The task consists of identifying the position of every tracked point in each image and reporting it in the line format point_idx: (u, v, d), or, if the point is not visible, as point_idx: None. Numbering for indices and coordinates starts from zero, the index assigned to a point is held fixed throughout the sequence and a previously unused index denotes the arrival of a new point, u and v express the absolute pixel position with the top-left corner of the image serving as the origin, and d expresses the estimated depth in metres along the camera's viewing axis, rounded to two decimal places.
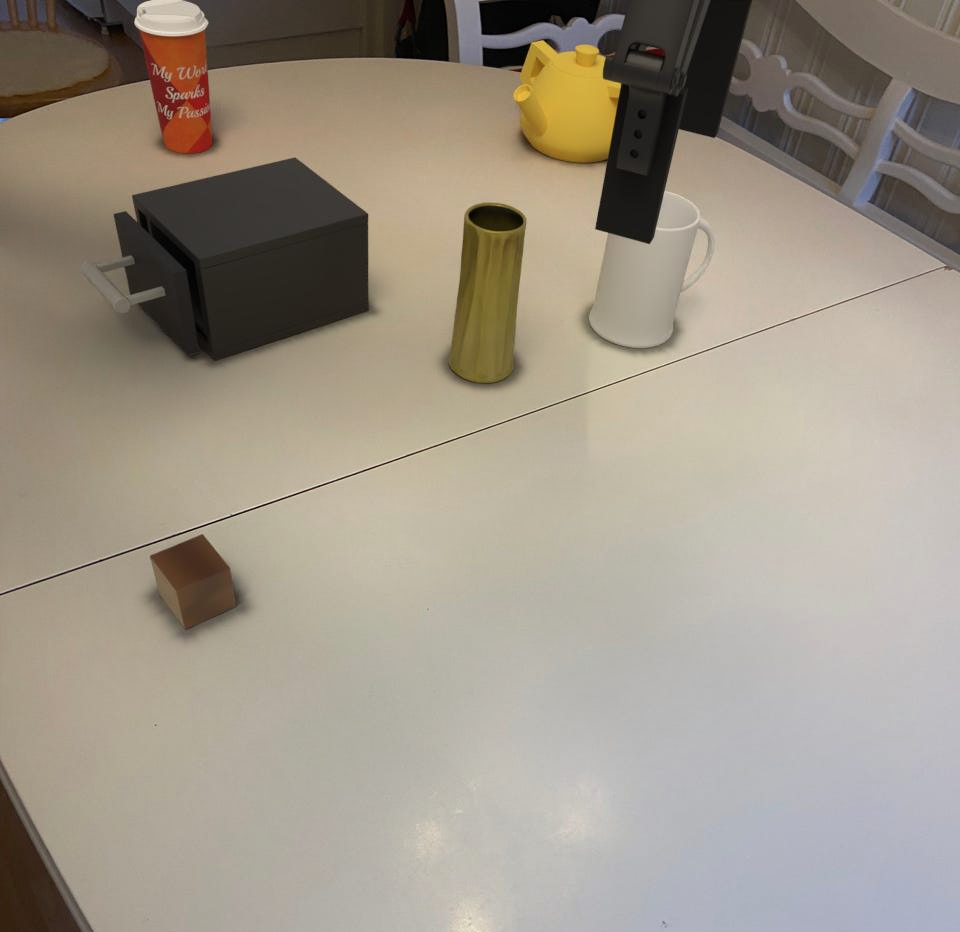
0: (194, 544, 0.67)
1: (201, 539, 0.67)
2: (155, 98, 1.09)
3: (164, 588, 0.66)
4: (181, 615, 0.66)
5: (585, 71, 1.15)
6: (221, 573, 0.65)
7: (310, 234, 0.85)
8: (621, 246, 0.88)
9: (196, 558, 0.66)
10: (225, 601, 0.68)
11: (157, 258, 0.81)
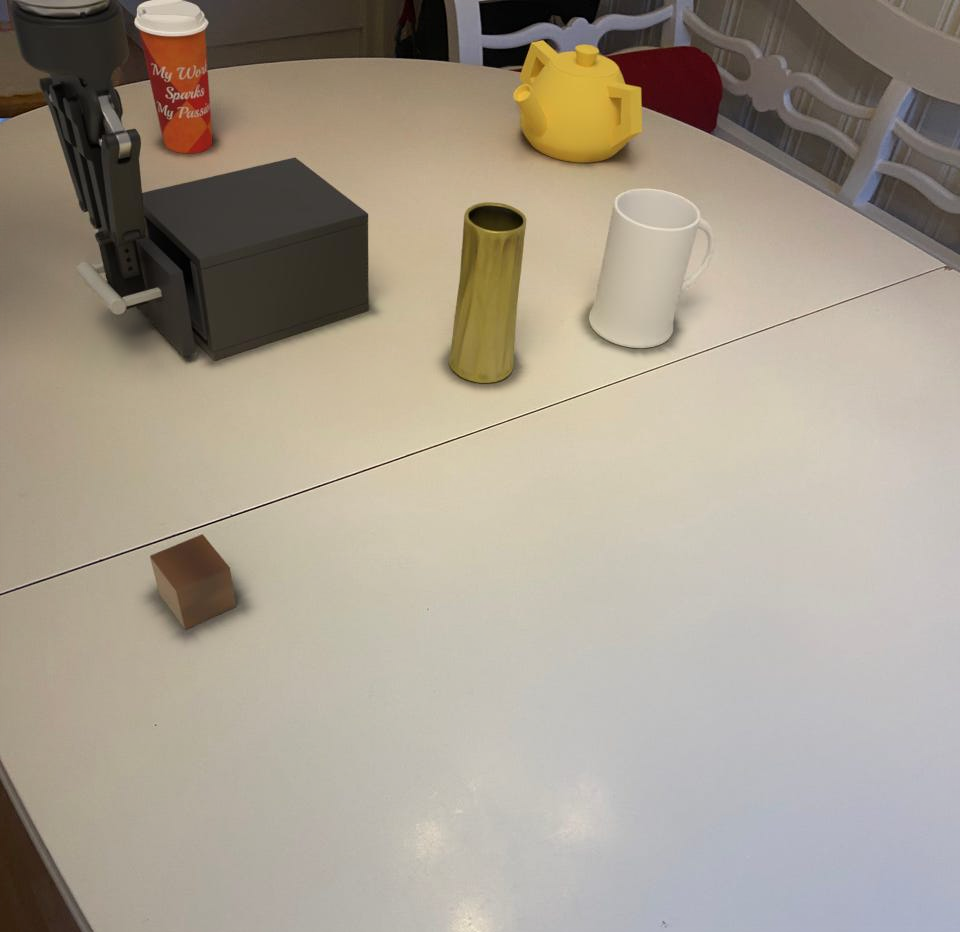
0: (194, 544, 0.67)
1: (201, 539, 0.67)
2: (155, 98, 1.09)
3: (164, 588, 0.66)
4: (181, 615, 0.66)
5: (585, 71, 1.15)
6: (221, 573, 0.65)
7: (310, 234, 0.85)
8: (621, 246, 0.88)
9: (196, 558, 0.66)
10: (225, 601, 0.68)
11: (153, 259, 0.81)
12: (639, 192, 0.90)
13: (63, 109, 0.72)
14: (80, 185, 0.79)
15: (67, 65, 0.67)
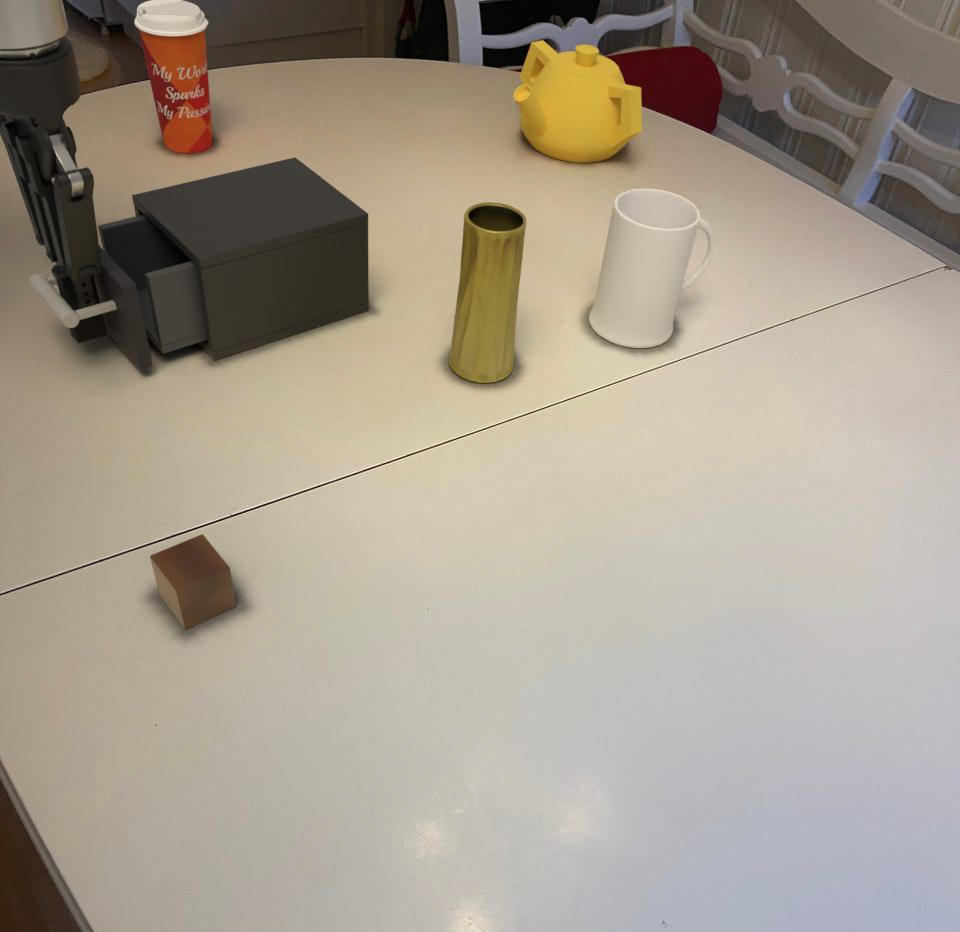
0: (194, 544, 0.67)
1: (201, 539, 0.67)
2: (155, 98, 1.09)
3: (164, 588, 0.66)
4: (181, 615, 0.66)
5: (585, 71, 1.15)
6: (221, 573, 0.65)
7: (310, 234, 0.85)
8: (621, 246, 0.88)
9: (196, 558, 0.66)
10: (225, 601, 0.68)
11: (107, 271, 0.79)
12: (639, 192, 0.90)
13: (16, 146, 0.72)
14: (36, 219, 0.79)
15: (17, 105, 0.67)
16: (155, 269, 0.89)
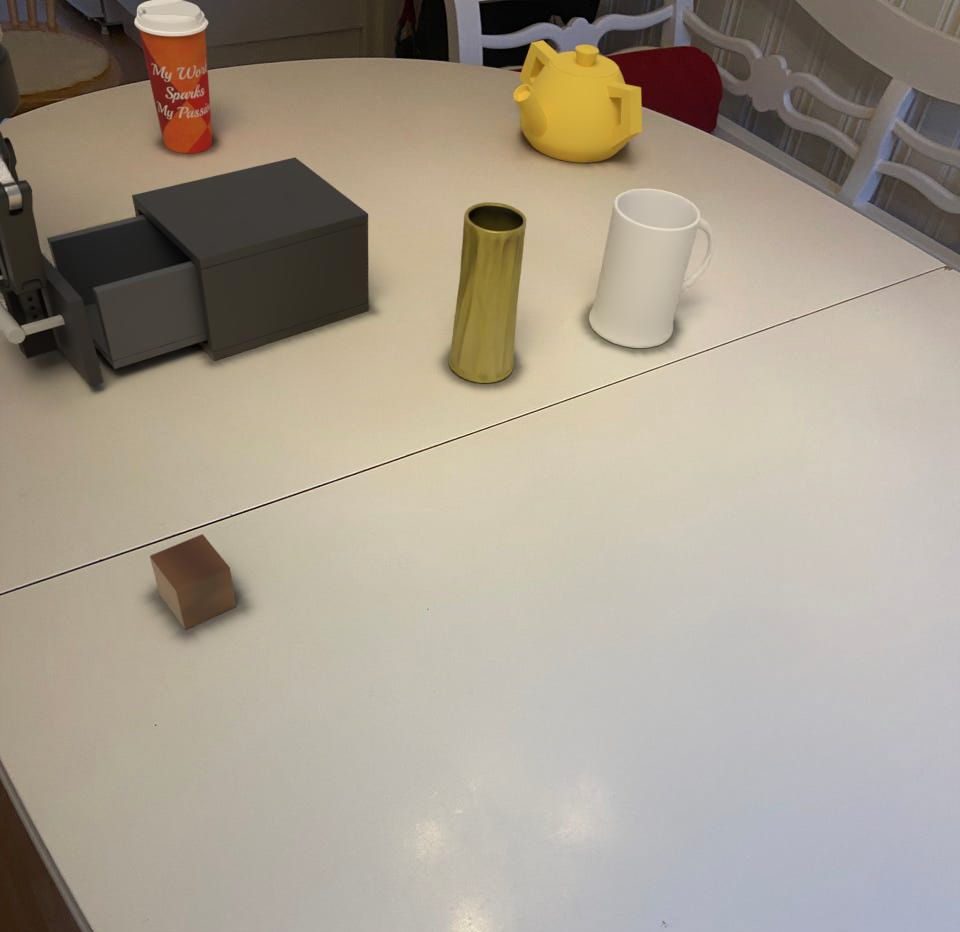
0: (194, 544, 0.67)
1: (201, 539, 0.67)
2: (155, 98, 1.09)
3: (164, 588, 0.66)
4: (181, 615, 0.66)
5: (585, 71, 1.15)
6: (221, 573, 0.65)
7: (310, 234, 0.85)
8: (621, 246, 0.88)
9: (196, 558, 0.66)
10: (225, 601, 0.68)
11: (53, 286, 0.77)
12: (639, 192, 0.90)
13: None
14: None
15: None
16: (109, 282, 0.87)
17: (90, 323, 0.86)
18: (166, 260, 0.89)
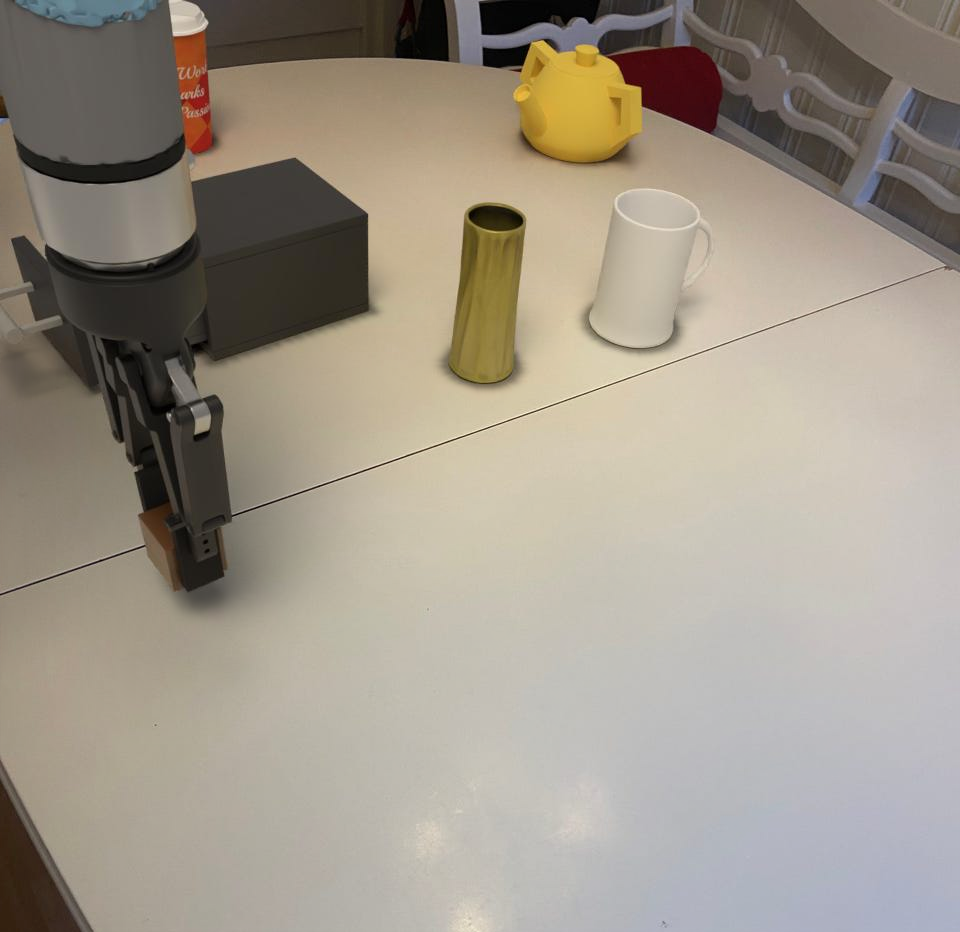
0: None
1: None
2: None
3: (152, 549, 0.64)
4: (170, 577, 0.63)
5: (585, 71, 1.15)
6: None
7: (310, 234, 0.85)
8: (621, 246, 0.88)
9: None
10: None
11: (51, 286, 0.77)
12: (639, 192, 0.90)
13: (112, 362, 0.53)
14: (117, 418, 0.60)
15: (126, 330, 0.48)
16: None
17: None
18: None
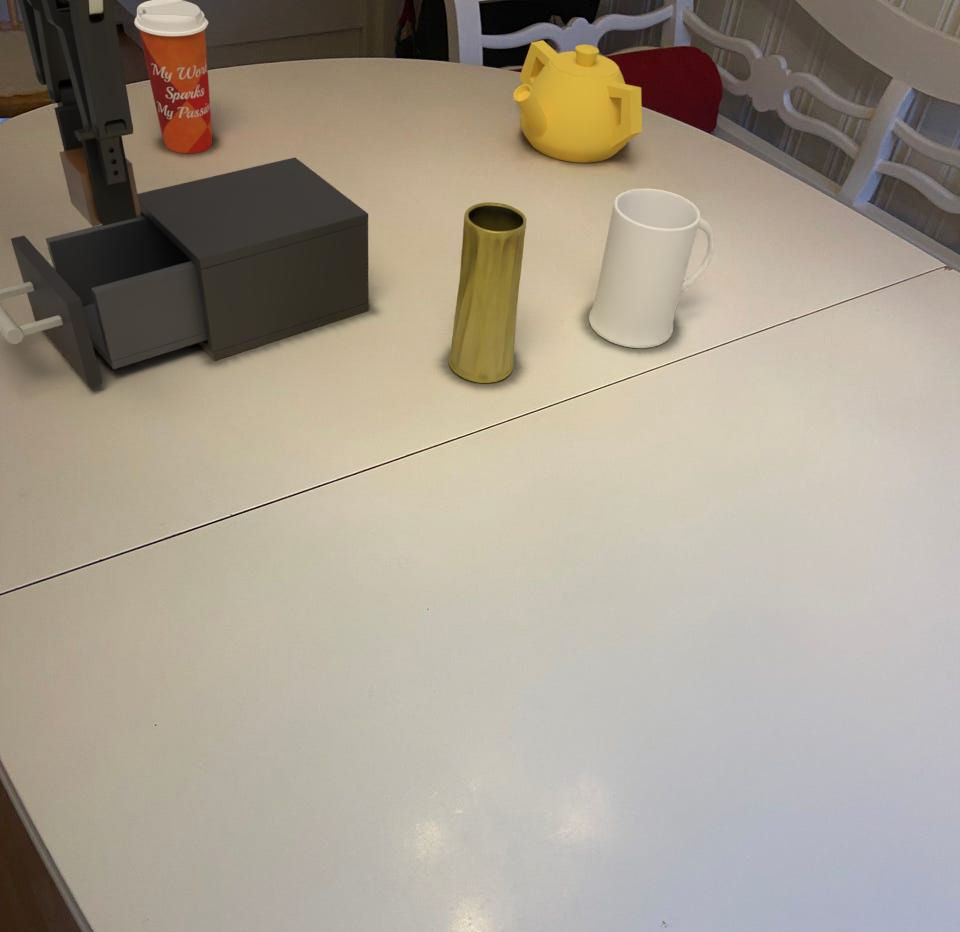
0: None
1: None
2: (155, 98, 1.09)
3: (73, 185, 0.73)
4: (87, 207, 0.72)
5: (585, 71, 1.15)
6: None
7: (310, 234, 0.85)
8: (621, 246, 0.88)
9: None
10: None
11: (51, 286, 0.77)
12: (639, 192, 0.90)
13: None
14: (39, 54, 0.69)
15: None
16: (107, 282, 0.87)
17: (89, 323, 0.86)
18: (164, 260, 0.89)
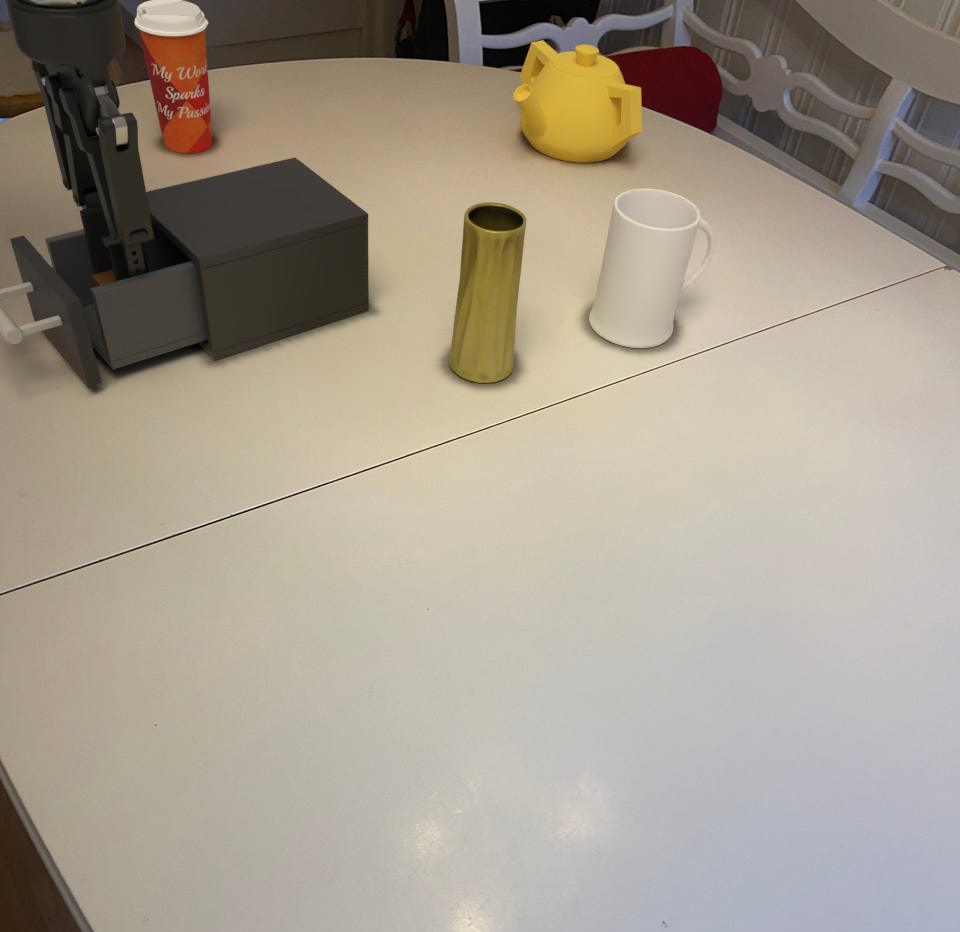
0: None
1: None
2: (155, 98, 1.09)
3: None
4: None
5: (585, 71, 1.15)
6: None
7: (310, 234, 0.85)
8: (621, 246, 0.88)
9: None
10: None
11: (51, 286, 0.77)
12: (639, 192, 0.90)
13: (58, 101, 0.72)
14: (66, 165, 0.79)
15: (63, 55, 0.67)
16: None
17: (88, 324, 0.86)
18: (164, 260, 0.89)
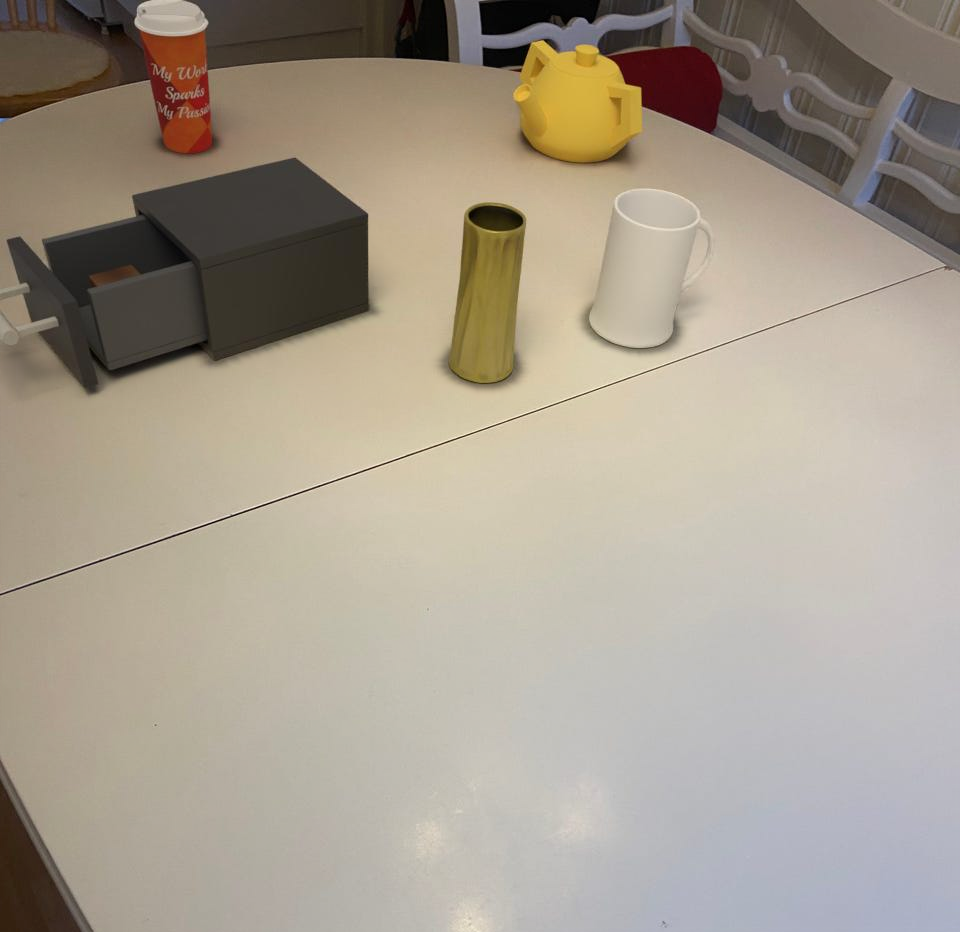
0: (124, 270, 0.84)
1: (130, 267, 0.85)
2: (155, 98, 1.09)
3: None
4: None
5: (585, 71, 1.15)
6: None
7: (310, 234, 0.85)
8: (621, 246, 0.88)
9: None
10: None
11: (47, 287, 0.77)
12: (639, 192, 0.90)
13: None
14: None
15: None
16: None
17: (85, 325, 0.85)
18: (161, 261, 0.89)
